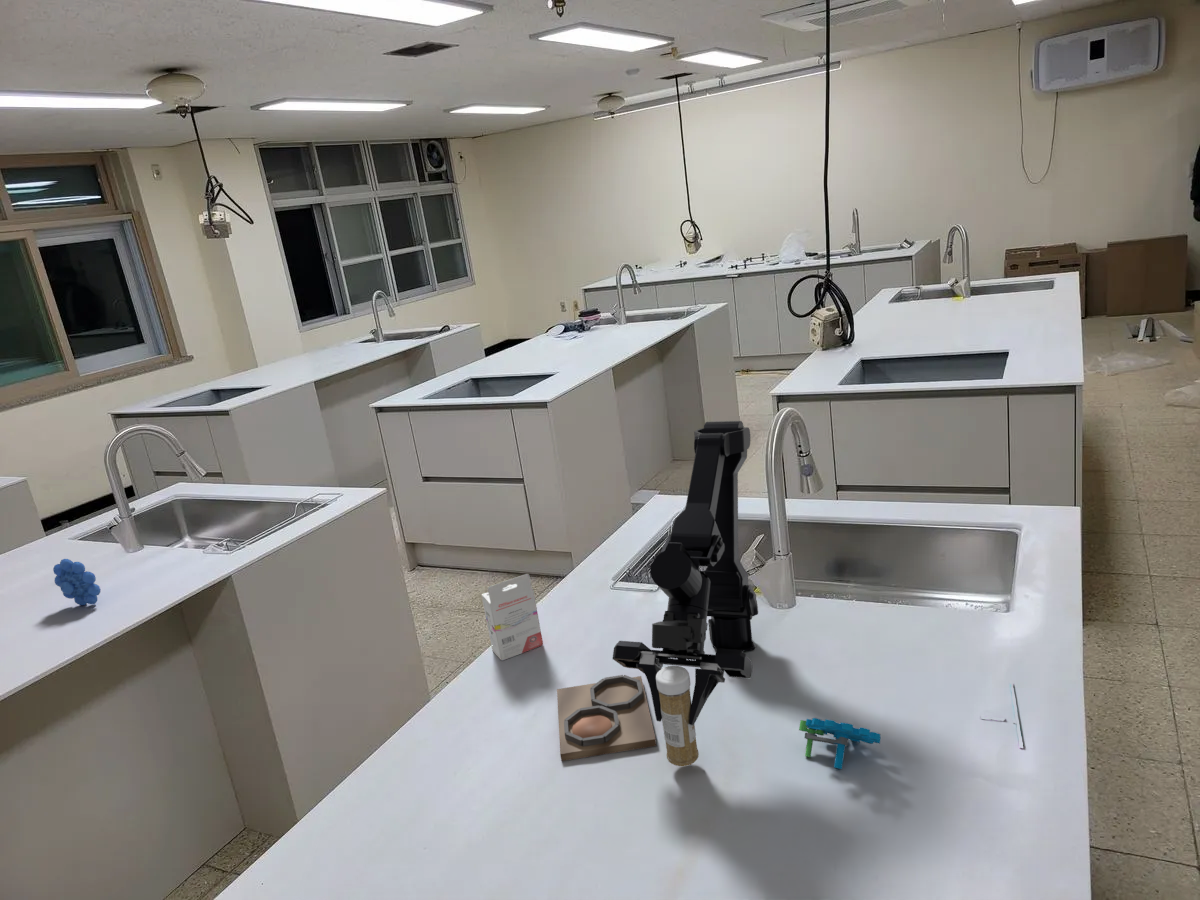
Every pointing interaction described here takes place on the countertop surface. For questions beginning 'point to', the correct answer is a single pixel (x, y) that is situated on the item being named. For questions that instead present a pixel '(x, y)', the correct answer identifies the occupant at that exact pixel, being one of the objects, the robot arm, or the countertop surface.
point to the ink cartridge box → (512, 617)
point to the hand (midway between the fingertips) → (674, 722)
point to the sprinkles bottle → (677, 715)
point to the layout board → (604, 718)
